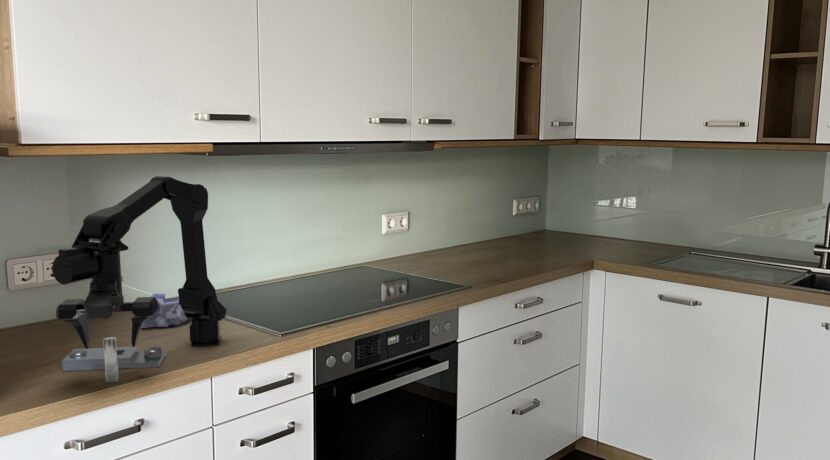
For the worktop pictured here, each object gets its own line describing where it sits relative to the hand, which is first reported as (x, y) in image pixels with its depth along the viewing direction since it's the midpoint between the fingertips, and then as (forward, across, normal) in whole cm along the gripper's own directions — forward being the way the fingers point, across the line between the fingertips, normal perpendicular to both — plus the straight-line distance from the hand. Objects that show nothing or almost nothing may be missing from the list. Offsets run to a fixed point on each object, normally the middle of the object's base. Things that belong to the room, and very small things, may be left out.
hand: (110, 347), depth 146 cm
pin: (+7, 0, 0) cm, 7 cm away
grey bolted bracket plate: (+7, -2, +11) cm, 13 cm away
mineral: (+8, +4, +42) cm, 43 cm away
